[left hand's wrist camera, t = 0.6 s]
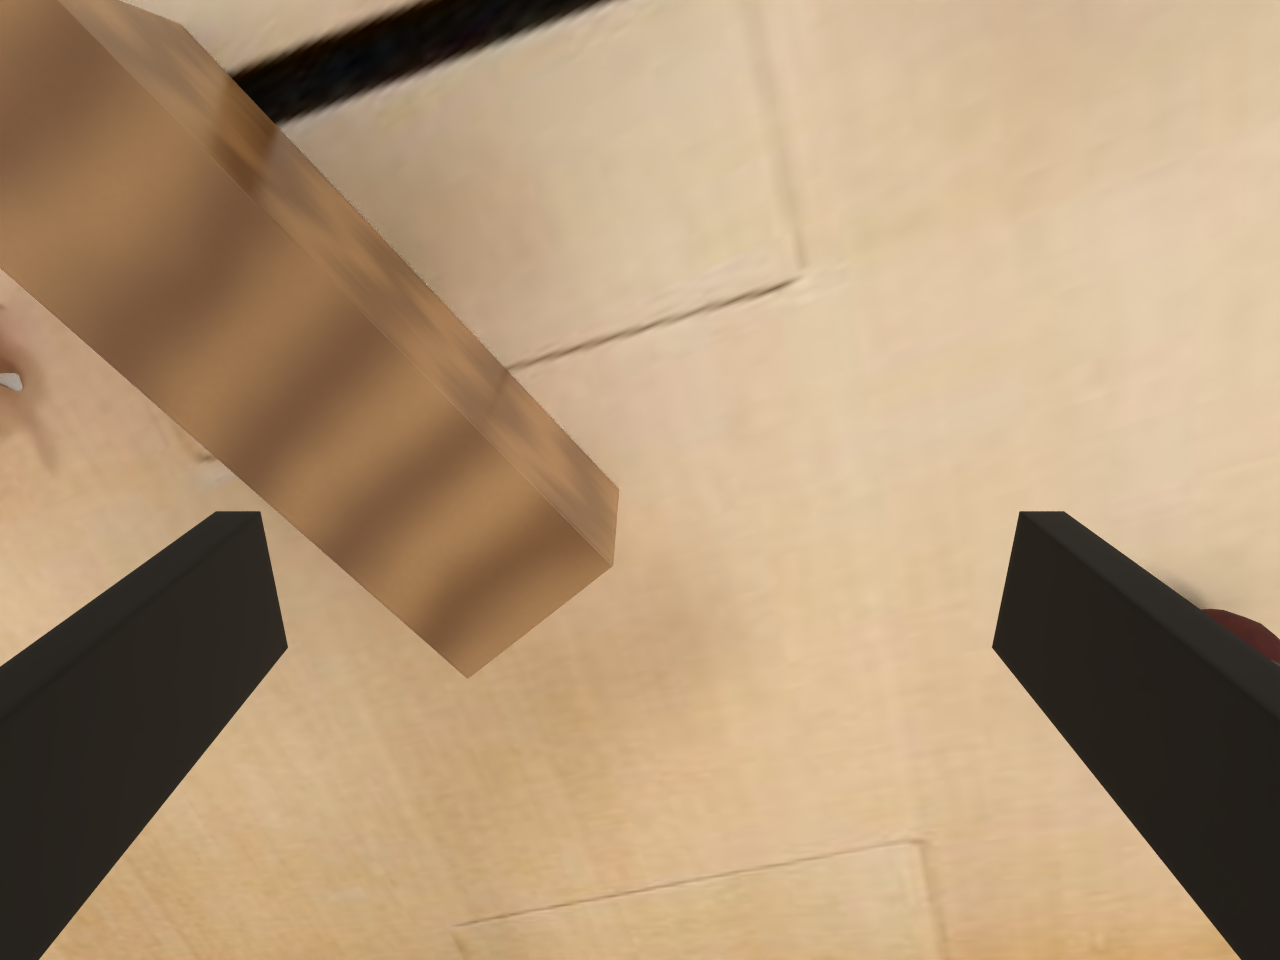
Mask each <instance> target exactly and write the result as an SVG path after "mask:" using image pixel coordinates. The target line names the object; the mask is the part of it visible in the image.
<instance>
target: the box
mask: <svg viewBox="0 0 1280 960" xmlns="http://www.w3.org/2000/svg"><path fill="white" fill-rule="evenodd" d="M0 268H1V269H2V270H4V271H5V272H6V273H7V274H8V275H9V276H10V277H11V278H13V279H14V280H15V281H16V282H17V283H18V284H19V285H21V286H22V287H23V288H24V289H25V290H26V291H27V292H29V293H30V294H31V295H32V296H33V297H34V298H35V299H36V300H38V301H39V302H40V303H41V304H42V305H43V306H44V307H46V308H47V309H48V310H49V311H50V312H51V313H52V314H54V315H55V316H56V317H57V318H58V319H59V320H60V321H61V322H63V323H64V324H65V325H66V326H67V327H68V328H69V329H71V330H72V331H73V332H74V333H75V334H76V335H77V336H79V337H80V338H81V339H82V340H83V341H84V342H85V343H86V344H88V345H89V346H90V347H91V348H92V349H93V350H94V351H96V352H97V353H98V354H99V355H100V356H101V357H102V358H104V359H105V360H106V361H107V362H108V363H109V364H110V365H112V366H113V367H114V368H115V369H116V370H117V371H118V372H119V373H121V374H122V375H123V376H124V377H125V378H126V379H127V380H129V381H130V382H131V383H132V384H133V385H134V386H135V387H137V388H138V389H139V390H140V391H141V392H142V393H143V394H144V395H146V396H147V397H148V398H149V399H150V400H151V401H152V402H154V403H155V404H156V405H157V406H158V407H159V408H160V409H162V410H163V411H164V412H165V413H166V414H167V415H168V416H169V417H171V418H172V419H173V420H174V421H175V422H176V423H177V424H179V425H180V426H181V427H182V428H183V429H184V430H185V431H187V432H188V433H189V434H190V435H191V436H192V437H193V438H194V439H196V440H197V441H198V442H199V443H200V444H201V445H202V446H204V447H205V448H206V449H207V450H208V451H209V452H210V453H212V454H213V455H214V456H215V457H216V458H217V459H218V460H220V461H221V462H222V463H223V464H224V465H225V466H226V467H227V468H229V469H230V470H231V471H232V472H233V473H234V474H235V475H237V476H238V477H239V478H240V479H241V480H242V481H243V482H245V483H246V484H247V485H248V486H249V487H250V488H251V489H252V490H254V491H255V492H256V493H257V494H258V495H259V496H260V497H262V498H263V499H264V500H265V501H266V502H267V503H268V504H270V505H271V506H272V507H273V508H274V509H275V510H276V511H277V512H279V513H280V514H281V515H282V516H283V517H284V518H285V519H287V520H288V521H289V522H290V523H291V524H292V525H293V526H295V527H296V528H297V529H298V530H299V531H300V532H301V533H303V534H304V535H305V536H306V537H307V538H308V539H309V540H310V541H312V542H313V543H314V544H315V545H316V546H317V547H318V548H320V549H321V550H322V551H323V552H324V553H325V554H326V555H328V556H329V557H330V558H331V559H332V560H333V561H334V562H335V563H337V564H338V565H339V566H340V567H341V568H342V569H343V570H345V571H346V572H347V573H348V574H349V575H350V576H351V577H353V578H354V579H355V580H356V581H357V582H358V583H359V584H360V585H362V586H363V587H364V588H365V589H366V590H367V591H368V592H370V593H371V594H372V595H373V596H374V597H375V598H376V599H378V600H379V601H380V602H381V603H382V604H383V605H384V606H385V607H387V608H388V609H389V610H390V611H391V612H392V613H393V614H395V615H396V616H397V617H398V618H399V619H400V620H401V621H403V622H404V623H405V624H406V625H407V626H408V627H409V628H411V629H412V630H413V631H414V632H415V633H416V634H417V635H418V636H420V637H421V638H422V639H423V640H424V641H425V642H426V643H428V644H429V645H430V646H431V647H432V648H433V649H434V650H436V651H437V652H438V653H439V654H440V655H441V656H442V657H443V658H445V659H446V660H447V661H448V662H449V663H450V664H451V665H453V666H454V667H455V668H456V669H457V670H458V671H459V672H461V673H462V674H463V675H464V676H465V677H466V678H469V677H471V676H472V675H473V674H475V673H476V672H477V671H478V670H480V669H481V668H482V667H484V666H485V665H486V664H487V663H489V662H490V661H491V660H493V659H494V658H495V657H496V656H498V655H499V654H500V653H501V652H503V651H504V650H505V649H507V648H508V647H509V646H510V645H512V644H513V643H514V642H516V641H517V640H518V639H519V638H521V637H522V636H523V635H525V634H526V633H527V632H528V631H530V630H531V629H532V628H534V627H535V626H536V625H537V624H539V623H540V622H541V621H543V620H544V619H545V618H546V617H548V616H549V615H550V614H552V613H553V612H554V611H555V610H557V609H558V608H559V607H561V606H562V605H563V604H564V603H566V602H567V601H568V600H570V599H571V598H572V597H573V596H575V595H576V594H577V593H579V592H580V591H581V590H582V589H584V588H585V587H586V586H588V585H589V584H590V583H591V582H593V581H594V580H595V579H597V578H598V577H599V576H600V575H602V574H603V573H604V572H606V571H607V570H608V569H609V568H611V567H612V566H613V561H614V548H615V535H616V523H617V510H618V497H619V489H618V488H617V487H616V486H615V485H614V484H613V483H612V482H611V480H610V479H609V478H608V477H607V476H606V475H605V474H604V473H603V472H602V471H601V470H600V469H599V468H598V467H597V466H596V465H595V463H594V462H593V461H592V460H591V459H590V458H589V457H588V456H587V455H586V454H585V453H584V452H583V451H582V450H581V449H580V448H579V446H578V445H577V444H576V443H575V442H574V441H573V440H572V439H571V438H570V437H569V436H568V435H567V434H566V433H565V432H564V431H563V430H562V428H561V427H560V426H559V425H558V424H557V423H556V422H555V421H554V420H553V419H552V418H551V417H550V416H549V415H548V414H547V413H546V411H545V410H544V409H543V408H542V407H541V406H540V405H539V404H538V403H537V402H536V401H535V400H534V399H533V398H532V397H531V396H530V394H529V393H528V392H527V391H526V390H525V389H524V388H523V387H522V386H521V385H520V384H519V383H518V382H517V381H516V380H515V379H514V377H513V376H512V375H511V374H510V373H509V372H508V371H507V370H506V369H505V368H504V367H503V366H502V365H501V364H500V363H499V362H498V361H497V359H496V358H495V357H494V356H493V355H492V354H491V353H490V352H489V351H488V350H487V349H486V348H485V347H484V346H483V345H482V344H481V342H480V341H479V340H478V339H477V338H476V337H475V336H474V335H473V334H472V333H471V332H470V331H469V330H468V329H467V328H466V327H465V325H464V324H463V323H462V322H461V321H460V320H459V319H458V318H457V317H456V316H455V315H454V314H453V313H452V312H451V311H450V310H449V308H448V307H447V306H446V305H445V304H444V303H443V302H442V301H441V300H440V299H439V298H438V297H437V296H436V295H435V294H434V293H433V291H432V290H431V289H430V288H429V287H428V286H427V285H426V284H425V283H424V282H423V281H422V280H421V279H420V278H419V277H418V276H417V275H416V273H415V272H414V271H413V270H412V269H411V268H410V267H409V266H408V265H407V264H406V263H405V262H404V261H403V260H402V259H401V258H400V256H399V255H398V254H397V253H396V252H395V251H394V250H393V249H392V248H391V247H390V246H389V245H388V244H387V243H386V242H385V241H384V239H383V238H382V237H381V236H380V235H379V234H378V233H377V232H376V231H375V230H374V229H373V228H372V227H371V226H370V225H369V224H368V222H367V221H366V220H365V219H364V218H363V217H362V216H361V215H360V214H359V213H358V212H357V211H356V210H355V209H354V208H353V207H352V206H351V204H350V203H349V202H348V201H347V200H346V199H345V198H344V197H343V196H342V195H341V194H340V193H339V192H338V191H337V190H336V189H335V187H334V186H333V185H332V184H331V183H330V182H329V181H328V180H327V179H326V178H325V177H324V176H323V175H322V174H321V173H320V172H319V170H318V169H317V168H316V167H315V166H314V165H313V164H312V163H311V162H310V161H309V160H308V159H307V158H306V157H305V156H304V155H303V153H302V152H301V151H300V150H299V149H298V148H297V147H296V146H295V145H294V144H293V143H292V142H291V141H290V140H289V139H288V138H287V137H286V135H285V134H284V133H283V132H282V131H281V130H280V129H279V128H278V127H277V126H276V125H275V124H274V123H273V122H272V121H271V120H270V118H269V117H268V116H267V115H266V114H265V113H264V112H263V111H262V110H261V109H260V108H259V107H258V106H257V105H256V104H255V103H254V101H253V100H252V99H251V98H250V97H249V96H248V95H247V94H246V93H245V92H244V91H243V90H242V89H241V88H240V87H239V86H238V84H237V83H236V82H235V81H234V80H233V79H232V78H231V77H230V76H229V75H228V74H227V73H226V72H225V71H224V70H223V69H222V67H221V66H220V65H219V64H218V63H217V62H216V61H215V60H214V59H213V58H212V57H211V56H210V55H209V54H208V53H207V52H206V51H205V49H204V48H203V47H202V46H201V45H200V44H199V43H198V42H197V41H196V40H195V39H194V38H193V37H192V36H191V35H190V34H189V32H188V31H187V30H186V29H185V28H184V27H183V26H182V25H181V24H179V23H176V22H173V21H171V20H168V19H166V18H163V17H161V16H158V15H155V14H153V13H150V12H148V11H145V10H142V9H140V8H137V7H135V6H132V5H130V4H127V3H124V2H122V1H119V0H0Z"/></svg>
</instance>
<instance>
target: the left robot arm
mask: <svg viewBox="0 0 1280 960" xmlns="http://www.w3.org/2000/svg"><path fill="white" fill-rule="evenodd" d="M287 648H288V646H287V641H286V636H285V631H284V626H283V621H282V616H281V611H280V606H279V601H278V596H277V591H276V586H275V581H274V576H273V572H272V567H271V562H270V557H269V552H268V547H267V542H266V537H265V532H264V527H263V522H262V517H261V512H260V511H216V512H215V513H213V514H212V515H210V516H209V517H208V518H206V519H205V520H203V521H202V522H201V523H199V524H198V525H197V526H195V527H194V528H192V529H191V530H190V531H188V532H187V533H185V534H184V535H183V536H181V537H180V538H178V539H177V540H176V541H174V542H173V543H172V544H170V545H169V546H167V547H166V548H165V549H163V550H162V551H160V552H159V553H158V554H156V555H155V556H153V557H152V558H151V559H149V560H148V561H147V562H145V563H144V564H142V565H141V566H140V567H138V568H137V569H135V570H134V571H133V572H131V573H130V574H128V575H127V576H126V577H124V578H123V579H122V580H120V581H119V582H117V583H116V584H115V585H113V586H112V587H110V588H109V589H108V590H106V591H105V592H103V593H102V594H101V595H99V596H98V597H96V598H95V599H94V600H92V601H91V602H90V603H88V604H87V605H85V606H84V607H83V608H81V609H80V610H78V611H77V612H76V613H74V614H73V615H71V616H70V617H69V618H67V619H66V620H65V621H63V622H62V623H60V624H59V625H58V626H56V627H55V628H53V629H52V630H51V631H49V632H48V633H46V634H45V635H44V636H42V637H41V638H40V639H38V640H37V641H35V642H34V643H33V644H31V645H30V646H28V647H27V648H26V649H24V650H23V651H21V652H20V653H19V654H17V655H16V656H15V657H13V658H12V659H10V660H9V661H8V662H6V663H5V664H3V665H2V666H1V667H0V960H39V959H40V958H41V956H42V955H43V954H44V953H45V951H46V950H47V949H48V947H49V946H50V945H51V944H52V942H53V941H54V940H55V939H56V937H57V936H58V935H59V934H60V932H61V931H62V930H63V929H64V927H65V926H66V925H67V924H68V922H69V921H70V920H71V919H72V917H73V916H74V915H75V914H76V912H77V911H78V910H79V909H80V907H81V906H82V905H83V904H84V902H85V901H86V900H87V899H88V897H89V896H90V895H91V894H92V892H93V891H94V890H95V889H96V887H97V886H98V885H99V884H100V882H101V881H102V880H103V879H104V877H105V876H106V875H107V874H108V872H109V871H110V870H111V869H112V867H113V866H114V865H115V864H116V862H117V861H118V860H119V859H120V857H121V856H122V855H123V854H124V852H125V851H126V850H127V849H128V847H129V846H130V845H131V843H132V842H133V841H134V840H135V838H136V837H137V836H138V835H139V833H140V832H141V831H142V830H143V828H144V827H145V826H146V825H147V823H148V822H149V821H150V820H151V818H152V817H153V816H154V815H155V813H156V812H157V811H158V810H159V808H160V807H161V806H162V805H163V803H164V802H165V801H166V800H167V798H168V797H169V796H170V795H171V793H172V792H173V791H174V790H175V788H176V787H177V786H178V785H179V783H180V782H181V781H182V780H183V778H184V777H185V776H186V775H187V773H188V772H189V771H190V770H191V768H192V767H193V766H194V765H195V763H196V762H197V761H198V760H199V758H200V757H201V756H202V755H203V753H204V752H205V751H206V750H207V748H208V747H209V746H210V744H211V743H212V742H213V741H214V739H215V738H216V737H217V736H218V734H219V733H220V732H221V731H222V729H223V728H224V727H225V726H226V724H227V723H228V722H229V721H230V719H231V718H232V717H233V716H234V714H235V713H236V712H237V711H238V709H239V708H240V707H241V706H242V704H243V703H244V702H245V701H246V699H247V698H248V697H249V696H250V694H251V693H252V692H253V691H254V689H255V688H256V687H257V686H258V684H259V683H260V682H261V681H262V679H263V678H264V677H265V676H266V674H267V673H268V672H269V671H270V669H271V668H272V667H273V666H274V664H275V663H276V662H277V661H278V659H279V658H280V657H281V656H282V654H283V653H284V652H285V651H286V649H287ZM992 648H993V649H994V651H995V652H996V653H997V654H998V656H999V657H1000V658H1001V659H1002V661H1003V662H1004V663H1005V664H1006V666H1007V667H1008V668H1009V669H1010V671H1011V672H1012V673H1013V674H1014V676H1015V677H1016V678H1017V679H1018V681H1019V682H1020V683H1021V684H1022V686H1023V687H1024V688H1025V689H1026V691H1027V692H1028V693H1029V694H1030V696H1031V697H1032V698H1033V699H1034V701H1035V702H1036V703H1037V704H1038V706H1039V707H1040V708H1041V709H1042V711H1043V712H1044V713H1045V714H1046V716H1047V717H1048V718H1049V719H1050V721H1051V722H1052V723H1053V724H1054V726H1055V727H1056V728H1057V729H1058V731H1059V732H1060V733H1061V734H1062V736H1063V737H1064V738H1065V739H1066V741H1067V742H1068V743H1069V744H1070V746H1071V747H1072V748H1073V750H1074V751H1075V752H1076V753H1077V755H1078V756H1079V757H1080V758H1081V760H1082V761H1083V762H1084V763H1085V765H1086V766H1087V767H1088V768H1089V770H1090V771H1091V772H1092V773H1093V775H1094V776H1095V777H1096V778H1097V780H1098V781H1099V782H1100V783H1101V785H1102V786H1103V787H1104V788H1105V790H1106V791H1107V792H1108V793H1109V795H1110V796H1111V797H1112V798H1113V800H1114V801H1115V802H1116V803H1117V805H1118V806H1119V807H1120V808H1121V810H1122V811H1123V812H1124V813H1125V815H1126V816H1127V817H1128V818H1129V820H1130V821H1131V822H1132V823H1133V825H1134V826H1135V827H1136V828H1137V830H1138V831H1139V832H1140V833H1141V835H1142V836H1143V837H1144V838H1145V840H1146V841H1147V842H1148V843H1149V845H1150V846H1151V847H1152V849H1153V850H1154V851H1155V852H1156V854H1157V855H1158V856H1159V857H1160V859H1161V860H1162V861H1163V862H1164V864H1165V865H1166V866H1167V867H1168V869H1169V870H1170V871H1171V872H1172V874H1173V875H1174V876H1175V877H1176V879H1177V880H1178V881H1179V882H1180V884H1181V885H1182V886H1183V887H1184V889H1185V890H1186V891H1187V892H1188V894H1189V895H1190V896H1191V897H1192V899H1193V900H1194V901H1195V902H1196V904H1197V905H1198V906H1199V907H1200V909H1201V910H1202V911H1203V912H1204V914H1205V915H1206V916H1207V917H1208V919H1209V920H1210V921H1211V922H1212V924H1213V925H1214V926H1215V927H1216V929H1217V930H1218V931H1219V932H1220V934H1221V935H1222V936H1223V937H1224V939H1225V940H1226V941H1227V942H1228V944H1229V945H1230V946H1231V947H1232V949H1233V950H1234V951H1235V953H1236V954H1237V955H1238V956H1239V958H1240V959H1241V960H1280V664H1279V663H1277V662H1275V661H1273V660H1270V659H1268V658H1267V657H1265V656H1264V655H1263V654H1261V653H1260V652H1259V651H1257V650H1256V649H1254V648H1253V647H1252V646H1250V645H1249V644H1247V643H1246V642H1245V641H1243V640H1242V639H1240V638H1239V637H1238V636H1236V635H1235V634H1234V633H1232V632H1231V631H1229V630H1228V629H1227V628H1225V627H1224V626H1222V625H1221V624H1220V623H1218V622H1217V621H1215V620H1214V619H1213V618H1211V617H1210V616H1209V615H1207V614H1206V613H1204V612H1203V611H1202V610H1200V609H1199V608H1197V607H1196V606H1195V605H1193V604H1192V603H1190V602H1189V601H1188V600H1186V599H1185V598H1183V597H1182V596H1181V595H1179V594H1178V593H1177V592H1175V591H1174V590H1172V589H1171V588H1170V587H1168V586H1167V585H1165V584H1164V583H1163V582H1161V581H1160V580H1158V579H1157V578H1156V577H1154V576H1153V575H1152V574H1150V573H1149V572H1147V571H1146V570H1145V569H1143V568H1142V567H1140V566H1139V565H1138V564H1136V563H1135V562H1133V561H1132V560H1131V559H1129V558H1128V557H1127V556H1125V555H1124V554H1122V553H1121V552H1120V551H1118V550H1117V549H1115V548H1114V547H1113V546H1111V545H1110V544H1108V543H1107V542H1106V541H1104V540H1103V539H1102V538H1100V537H1099V536H1097V535H1096V534H1095V533H1093V532H1092V531H1090V530H1089V529H1088V528H1086V527H1085V526H1083V525H1082V524H1081V523H1079V522H1078V521H1077V520H1075V519H1074V518H1072V517H1071V516H1070V515H1068V514H1067V513H1065V512H1064V511H1020V512H1019V517H1018V522H1017V527H1016V532H1015V537H1014V542H1013V547H1012V552H1011V557H1010V562H1009V567H1008V572H1007V576H1006V581H1005V586H1004V591H1003V596H1002V601H1001V606H1000V611H999V616H998V621H997V626H996V631H995V636H994V641H993V646H992Z"/></svg>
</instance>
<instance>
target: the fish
mask: <svg viewBox="0 0 1280 960" xmlns="http://www.w3.org/2000/svg"><path fill="white" fill-rule="evenodd" d="M0 385H3V386H5V387H7V388H10V389H12V390H14V391H20V390H22V389H23V386H22V383H21V380H20V377H19V375H18V374H16V373H0Z"/></svg>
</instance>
